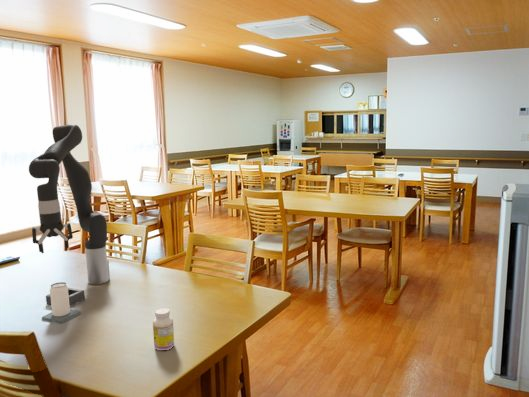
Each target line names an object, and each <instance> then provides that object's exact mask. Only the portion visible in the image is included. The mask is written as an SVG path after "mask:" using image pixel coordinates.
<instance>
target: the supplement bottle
mask: <svg viewBox="0 0 529 397" xmlns="http://www.w3.org/2000/svg"><path fill="white" fill-rule="evenodd" d="M170 312H171V311H170V309H169V308H165V307H163V308H159V309H157V310H155V313H154V314H155V318H154V319H153V320H152V329H153V332H152V333H153V344H154V349H155V350H156V349H157V351H158V350H167V351H169V349H170V350H172V349H173V348H174V347H175V332H174V330H175V328H174V318H173V317H172V316H170V315H171V313H170ZM173 346H174V347H173ZM172 347H173V348H172ZM171 348H172V349H171Z"/></svg>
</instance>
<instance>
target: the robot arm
mask: <svg viewBox="0 0 529 397" xmlns="http://www.w3.org/2000/svg"><path fill="white" fill-rule="evenodd" d="M52 138H53V141H54V143H53V144H51V145H50V146H49V147H48V148H47V149H46V150H45V151H44V153H42V154H40V155H39V156H37V157H35V158H34V159H33V160H32V161H30V163H29V166H28V173H29V174H30V176H31V177H33V178H35V179H48V181H47V183H43V184H39V185H38V186H37V187H36V192H37V200H38V201H37V202H38V203H37V204H38V206H37V207H38V215H39V224H40V225H39V226H40V227H36V226H32V229H31V231H32V232H31V233H32V234H31V235H32V243H33V244H37V245H38V252H40V253H41V254H44V245H43V244H44V243H43V242H44V241H45V239H46V238H52V237H61V238H62V239H63V241H64V242H63V243H64V250H65V251H68V249H69V247H70V245H69V240H71V239H73V238H74V236H73V231H72V227H71V223H70V222H68V223H65V224H63V221H62V214H61V213H62V211H61V206H60V201H59V200H60V199H59V194H58V180H59V177H60V173H61V172H60V171H61V168H60V167H61V166H60V164H61V163H62V164H63V167H64V171H65V175H66V178H67V182H68V185H69V187H70V191H71V194H72V199H73V201H74V204H75V208H76V212H77V218H78V222H79V226H80V229H81V230H82V231H84V232H86V233H89V239H88V240H86V241H84V250H85V259H86V270H87V272H86V273H87V282H88V284H89V285H96V286H97V285H103V284H105V283H106V284H107V282H108V281H109V280H111V278H110V277H111V275H110V274H111V273H110V265H109V263H110V262H109V259H108V257H107V240H108V226H107V224H108V223H107V218H106V217H105V216H104V215H102V214H101V213H94V210H93V207H92V204H91V195H92V190H93V185H92V181H91V178H90V174H89V172H88V170H87V169H86V168H85V166H84V165H82V164H81V163H80V162H79V161H78V160H77V159H76V158H75V157H74V156H73V155H72V153H71V151H72V150H73V149H75V148H77V146H78V145H80V144H81V143H82V141H83V131H82V130H81V128H80V126H79V125H78V124H74V123H72V124H71V123H70V124H65V125H57V126H54V127H53V129H52ZM64 228H65V230H67V232H68V235H66V234H65V233H64V232H63V231H62V230H63V229H64ZM39 232H41V233H42V234H41V236H40V238H39V239H37V234H38V233H39Z"/></svg>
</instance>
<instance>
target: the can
mask: <svg viewBox="0 0 529 397" xmlns="http://www.w3.org/2000/svg"><path fill="white" fill-rule="evenodd" d="M68 288H69V286H68V285H67V283H66V282H62V281H61V282H60V281H59V282H54V283H52V284H51V285H50V289H49V294H50V296H51V312H52V315H53V316H55V317H62V316H65V315H68V314H69V313H70V309H71V306H70V304H69V294H68Z"/></svg>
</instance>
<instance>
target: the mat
mask: <svg viewBox="0 0 529 397" xmlns="http://www.w3.org/2000/svg"><path fill="white" fill-rule="evenodd" d="M80 314H82V311H81V310H78V309H72V308H70V313H69V314H68V315H65V316H62V317H55V316H53V315H52V311H51V312H50V313H47V314H45V315H42V316H41V320H43V321H48V322H53V323H57V324H64V323H65V322H67V321H69V320H71V319H73V318H75V317H76V316H78V315H80Z"/></svg>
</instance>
